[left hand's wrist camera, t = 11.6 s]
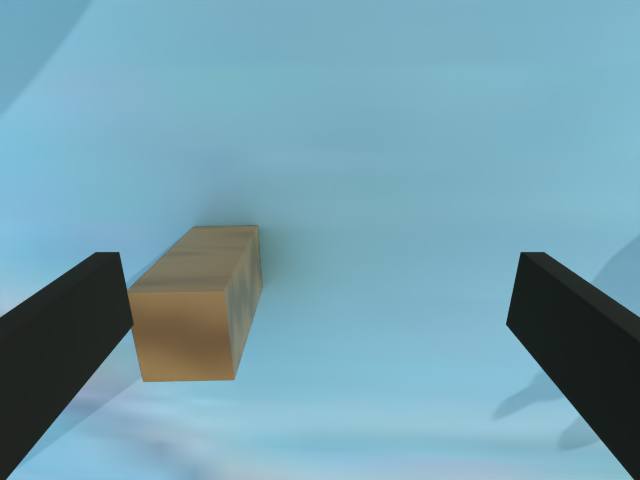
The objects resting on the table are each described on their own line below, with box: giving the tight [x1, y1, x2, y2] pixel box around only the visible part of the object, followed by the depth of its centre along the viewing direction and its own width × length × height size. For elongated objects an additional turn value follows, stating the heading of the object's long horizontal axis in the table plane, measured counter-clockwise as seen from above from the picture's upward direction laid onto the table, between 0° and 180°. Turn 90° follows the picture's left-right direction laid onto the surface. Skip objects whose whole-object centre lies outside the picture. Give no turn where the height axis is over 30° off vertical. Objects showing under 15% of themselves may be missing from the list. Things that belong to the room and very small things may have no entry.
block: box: [127, 226, 263, 382], centre depth 26 cm, size 6×5×12 cm
